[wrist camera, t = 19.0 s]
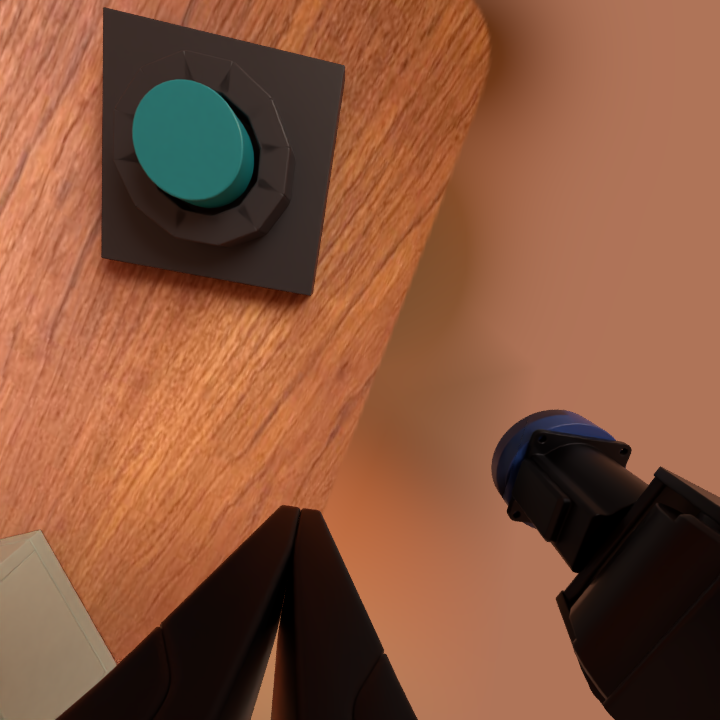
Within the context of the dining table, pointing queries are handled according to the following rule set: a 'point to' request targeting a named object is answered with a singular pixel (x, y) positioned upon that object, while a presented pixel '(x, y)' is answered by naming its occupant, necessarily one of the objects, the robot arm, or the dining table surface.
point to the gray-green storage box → (43, 634)
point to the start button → (192, 144)
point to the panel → (270, 146)
